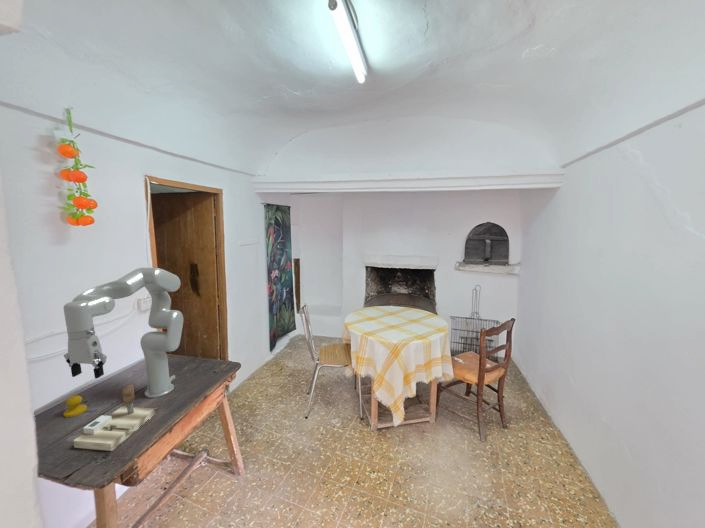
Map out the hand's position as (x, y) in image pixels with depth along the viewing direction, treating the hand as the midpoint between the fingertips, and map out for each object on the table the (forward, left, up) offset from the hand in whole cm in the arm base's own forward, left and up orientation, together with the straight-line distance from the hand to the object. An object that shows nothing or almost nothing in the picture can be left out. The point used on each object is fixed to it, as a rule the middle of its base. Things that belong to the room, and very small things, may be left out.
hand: (88, 375), depth 118 cm
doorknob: (-16, -28, -28) cm, 42 cm away
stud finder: (-4, -3, -25) cm, 25 cm away
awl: (-14, +2, -25) cm, 28 cm away
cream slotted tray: (-7, +2, -28) cm, 29 cm away
